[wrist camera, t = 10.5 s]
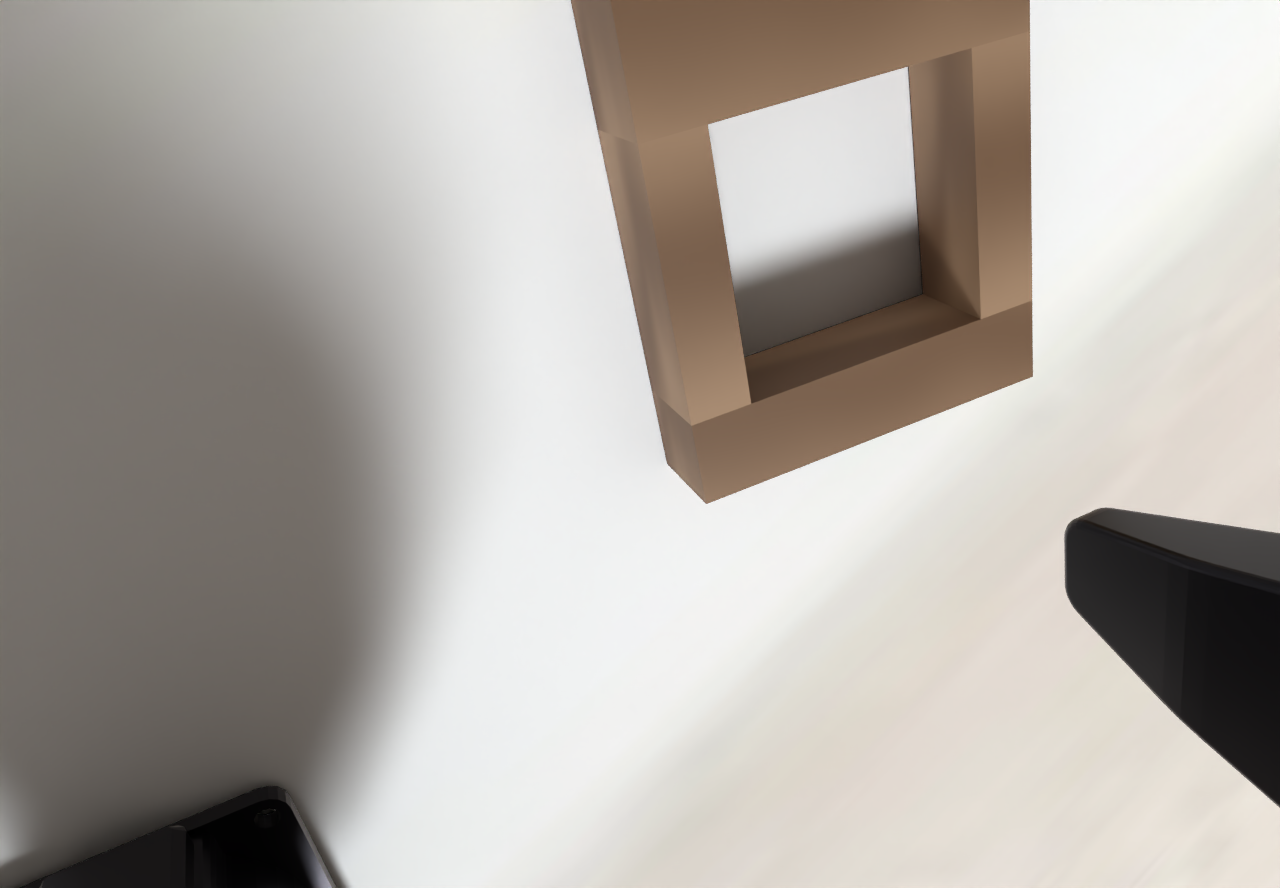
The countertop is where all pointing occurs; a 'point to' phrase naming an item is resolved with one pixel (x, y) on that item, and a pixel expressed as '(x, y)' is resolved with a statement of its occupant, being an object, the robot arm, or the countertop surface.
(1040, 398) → the countertop surface
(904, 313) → the wooden slotted board
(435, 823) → the countertop surface
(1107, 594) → the robot arm
